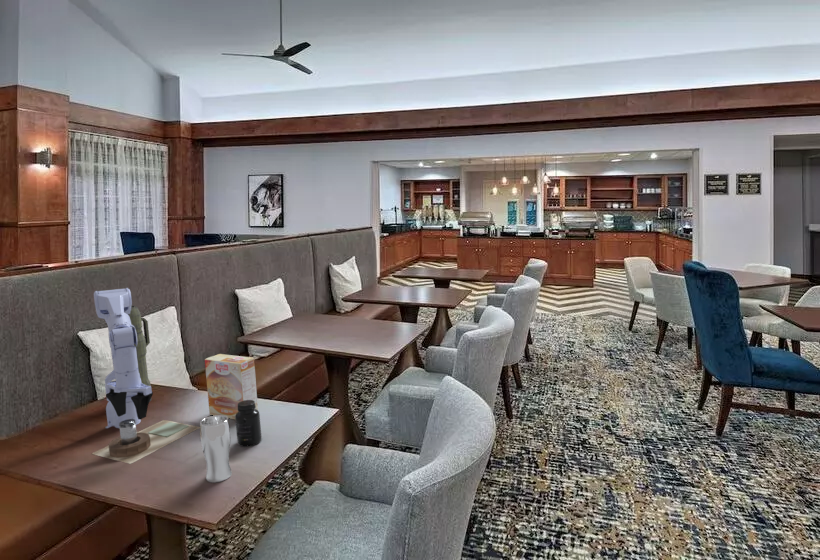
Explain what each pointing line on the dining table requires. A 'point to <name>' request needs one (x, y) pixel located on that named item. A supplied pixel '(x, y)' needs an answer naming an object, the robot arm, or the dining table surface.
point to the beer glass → (216, 447)
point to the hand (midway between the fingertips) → (131, 416)
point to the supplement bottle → (248, 424)
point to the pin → (128, 432)
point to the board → (153, 442)
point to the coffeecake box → (229, 383)
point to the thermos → (141, 343)
